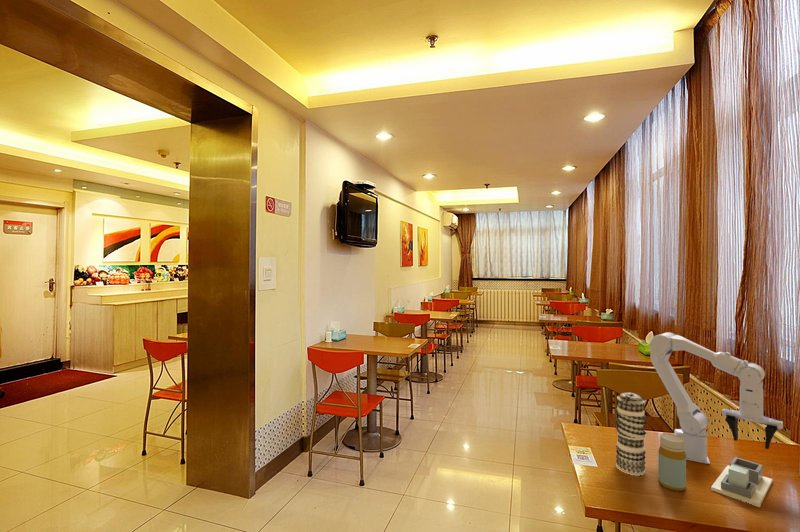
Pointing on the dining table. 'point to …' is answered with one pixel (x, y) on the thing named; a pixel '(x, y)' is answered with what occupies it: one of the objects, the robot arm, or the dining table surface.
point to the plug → (738, 476)
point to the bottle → (672, 462)
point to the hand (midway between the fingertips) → (751, 443)
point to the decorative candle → (630, 434)
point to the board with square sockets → (756, 483)
